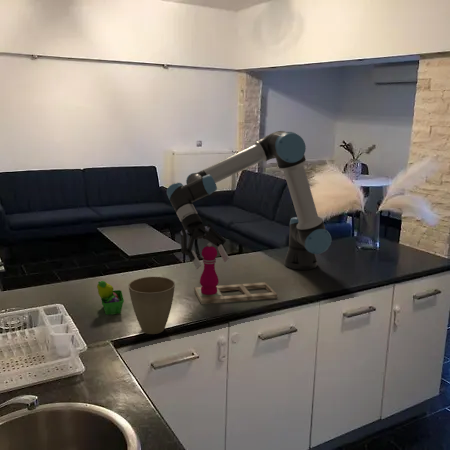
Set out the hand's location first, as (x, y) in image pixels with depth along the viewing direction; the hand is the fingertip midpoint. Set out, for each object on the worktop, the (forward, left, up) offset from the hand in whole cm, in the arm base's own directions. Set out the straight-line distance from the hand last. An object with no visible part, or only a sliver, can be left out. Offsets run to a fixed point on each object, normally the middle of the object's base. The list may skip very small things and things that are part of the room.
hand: (213, 263), depth 191 cm
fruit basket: (+39, +3, -14) cm, 41 cm away
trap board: (-9, -2, -14) cm, 17 cm away
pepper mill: (+1, -2, -12) cm, 13 cm away
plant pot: (+26, +23, -14) cm, 37 cm away
